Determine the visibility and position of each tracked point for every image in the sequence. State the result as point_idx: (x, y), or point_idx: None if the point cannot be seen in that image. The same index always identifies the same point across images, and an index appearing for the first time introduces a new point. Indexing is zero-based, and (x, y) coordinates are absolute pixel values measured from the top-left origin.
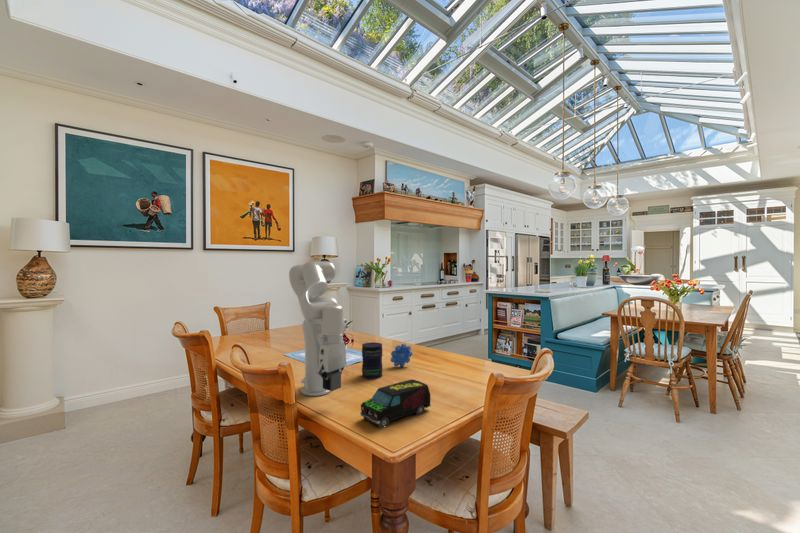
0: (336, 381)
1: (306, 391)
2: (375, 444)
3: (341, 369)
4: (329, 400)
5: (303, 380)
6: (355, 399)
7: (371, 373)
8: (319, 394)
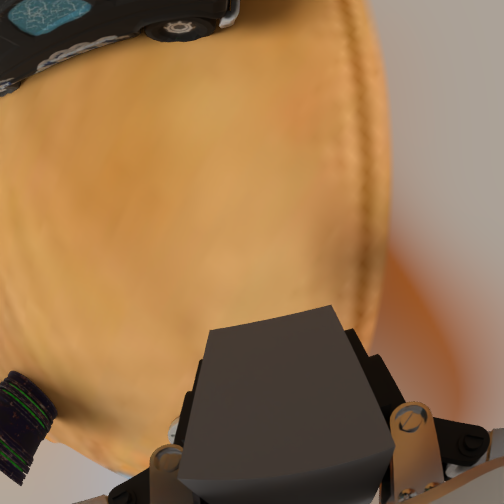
0: (279, 376)
1: None
2: None
3: (144, 493)
4: None
5: None
6: (116, 292)
7: (25, 396)
8: None
